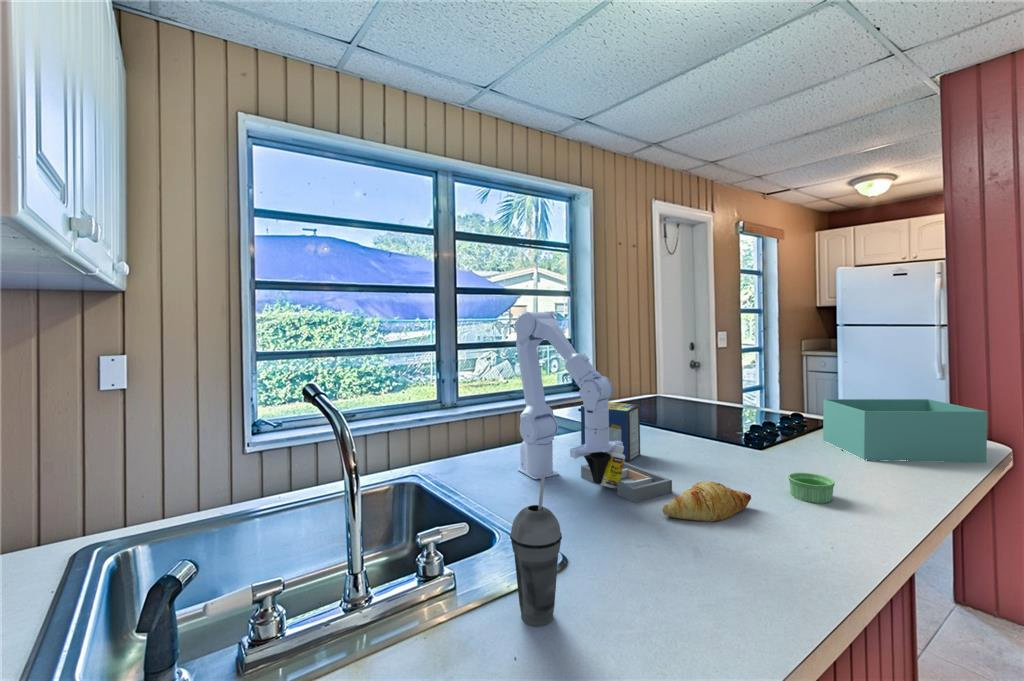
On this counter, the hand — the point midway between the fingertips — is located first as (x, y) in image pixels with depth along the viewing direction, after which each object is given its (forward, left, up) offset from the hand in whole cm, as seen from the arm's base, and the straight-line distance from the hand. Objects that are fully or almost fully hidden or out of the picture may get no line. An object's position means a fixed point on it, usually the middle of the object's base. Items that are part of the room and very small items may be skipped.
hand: (597, 482), depth 112 cm
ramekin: (+28, +40, -2) cm, 48 cm away
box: (+20, +99, -2) cm, 101 cm away
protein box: (-22, +23, -2) cm, 32 cm away
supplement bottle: (0, +3, -1) cm, 3 cm away
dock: (0, +9, -2) cm, 9 cm away
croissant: (+22, +12, -2) cm, 25 cm away
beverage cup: (+34, -37, -2) cm, 51 cm away
